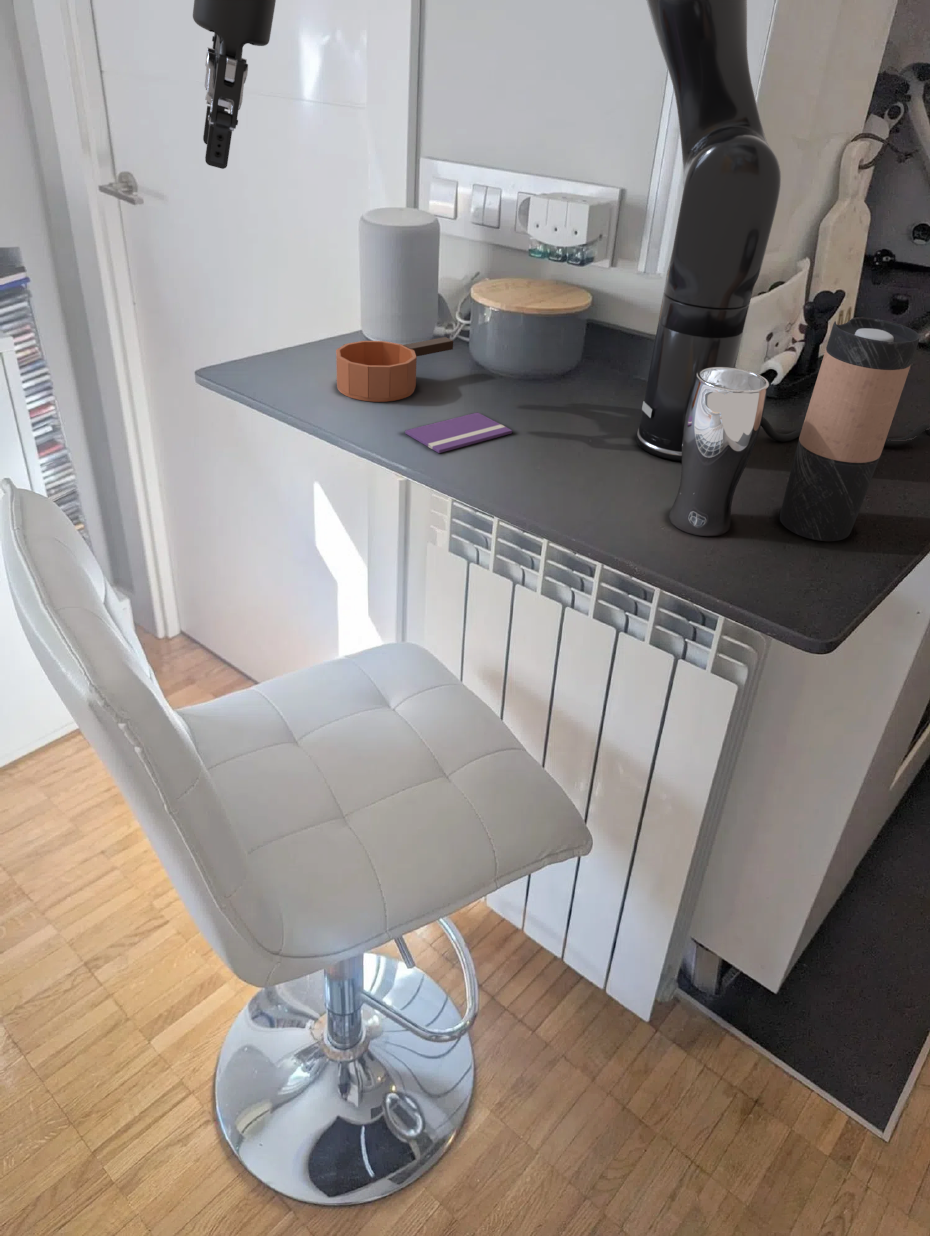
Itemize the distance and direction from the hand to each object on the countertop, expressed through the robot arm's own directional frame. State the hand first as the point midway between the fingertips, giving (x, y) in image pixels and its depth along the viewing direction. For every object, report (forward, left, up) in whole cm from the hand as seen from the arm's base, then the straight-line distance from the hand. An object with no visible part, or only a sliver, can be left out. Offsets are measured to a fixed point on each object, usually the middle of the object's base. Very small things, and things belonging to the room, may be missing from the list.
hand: (214, 155), depth 97 cm
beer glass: (-24, +54, -27) cm, 65 cm away
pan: (-20, +6, -27) cm, 34 cm away
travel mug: (-34, +61, -27) cm, 75 cm away
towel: (-17, +24, -27) cm, 39 cm away
